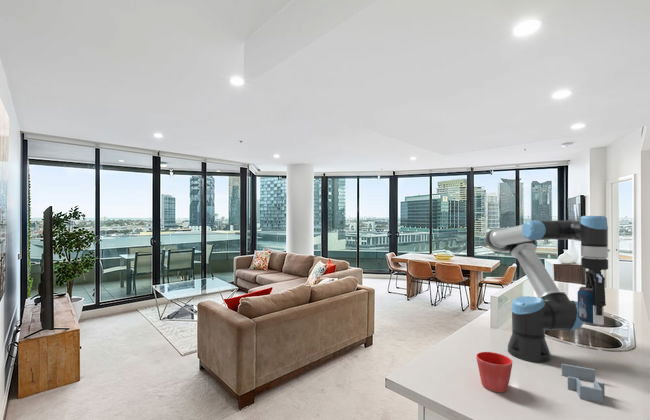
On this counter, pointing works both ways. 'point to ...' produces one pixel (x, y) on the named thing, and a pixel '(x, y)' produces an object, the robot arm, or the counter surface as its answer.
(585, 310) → the soda can
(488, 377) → the flower pot
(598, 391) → the channel
